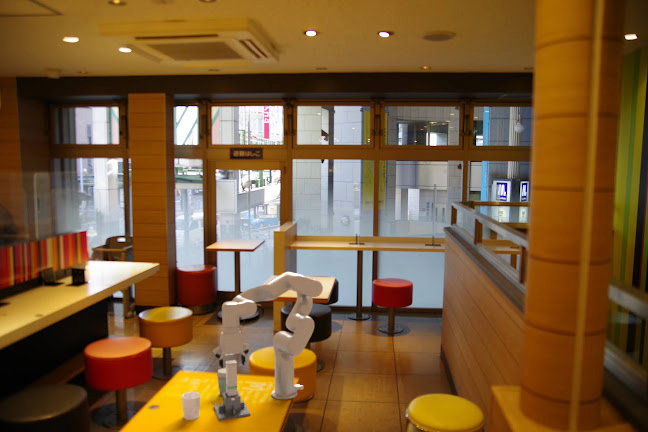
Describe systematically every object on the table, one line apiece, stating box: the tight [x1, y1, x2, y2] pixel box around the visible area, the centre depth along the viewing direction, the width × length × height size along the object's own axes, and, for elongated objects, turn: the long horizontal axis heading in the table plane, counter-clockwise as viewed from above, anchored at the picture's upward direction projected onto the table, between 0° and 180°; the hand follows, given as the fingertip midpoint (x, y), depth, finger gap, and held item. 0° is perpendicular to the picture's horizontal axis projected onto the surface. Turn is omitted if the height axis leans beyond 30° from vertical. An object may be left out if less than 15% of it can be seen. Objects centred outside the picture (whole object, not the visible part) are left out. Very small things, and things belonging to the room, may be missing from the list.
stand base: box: [213, 390, 251, 421], centre depth 237 cm, size 14×14×8 cm
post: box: [224, 359, 238, 398], centre depth 236 cm, size 5×5×16 cm
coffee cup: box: [216, 367, 226, 397], centre depth 256 cm, size 8×8×12 cm
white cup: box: [181, 391, 201, 421], centre depth 232 cm, size 8×8×10 cm
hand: (232, 365), depth 236 cm, fingers open, 9 cm apart
